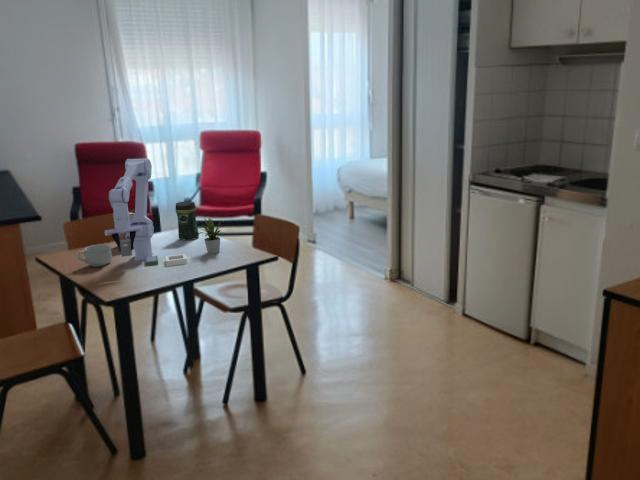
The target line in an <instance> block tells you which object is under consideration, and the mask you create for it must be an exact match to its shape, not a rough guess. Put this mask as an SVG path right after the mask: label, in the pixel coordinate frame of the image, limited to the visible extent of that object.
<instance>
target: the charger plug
mask: <svg viewBox="0 0 640 480" xmlns="http://www.w3.org/2000/svg"><path fill="white" fill-rule="evenodd" d="M120 248H121V252H120V255H121V257H128V256H129V257H130V256H133V250H131V242H130V239H126V240H120Z"/></svg>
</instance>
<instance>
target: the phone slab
mask: <svg viewBox="0 0 640 480" xmlns="http://www.w3.org/2000/svg"><path fill="white" fill-rule="evenodd" d="M158 258H159V257H158V255H153V256H151V257H145V260H144V261H145V262H146V266H151V265H158Z"/></svg>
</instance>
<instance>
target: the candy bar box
mask: <svg viewBox="0 0 640 480" xmlns="http://www.w3.org/2000/svg"><path fill="white" fill-rule="evenodd" d="M134 217H135V212H129V219H130V220H131V219H133V218H134ZM112 219H113V224H114V225H113V226H114V229H116V226H115V219H114V212H113V213H112ZM119 239H120V240H126V239H130V237H129V235H128V233H122V234H119ZM130 242H131V241H130ZM133 247H134V243H133Z"/></svg>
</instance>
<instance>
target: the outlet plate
mask: <svg viewBox="0 0 640 480" xmlns="http://www.w3.org/2000/svg"><path fill="white" fill-rule="evenodd" d="M164 257H165V258H160V259H158V265H151V266H146V262H145V260H141V267H142V268H141V269H142V270H151V269H157V268H165V267H172V266H173V267H174V266H182V265H188V264H192V263H193V262H192V260H191V257H190V255H186V253H181V254H172V255H165V256H164Z"/></svg>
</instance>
